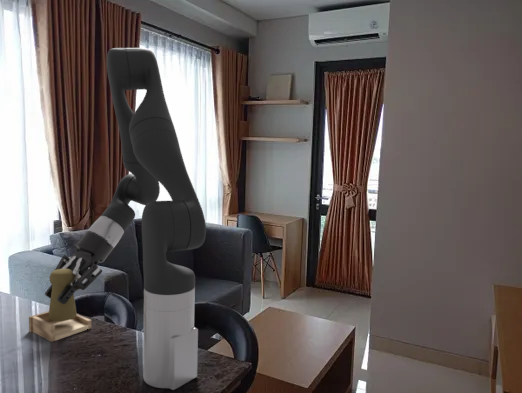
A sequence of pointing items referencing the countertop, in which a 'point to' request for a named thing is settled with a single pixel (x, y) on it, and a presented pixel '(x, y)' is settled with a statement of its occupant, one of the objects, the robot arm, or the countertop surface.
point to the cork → (59, 282)
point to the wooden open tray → (57, 326)
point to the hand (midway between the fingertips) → (54, 299)
